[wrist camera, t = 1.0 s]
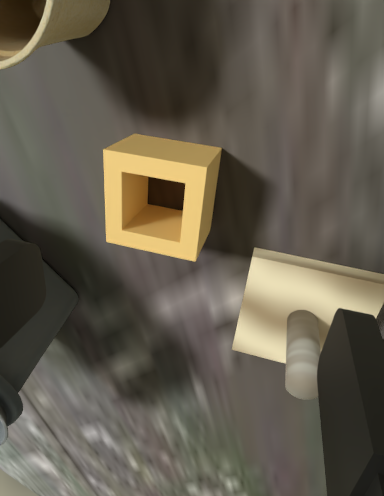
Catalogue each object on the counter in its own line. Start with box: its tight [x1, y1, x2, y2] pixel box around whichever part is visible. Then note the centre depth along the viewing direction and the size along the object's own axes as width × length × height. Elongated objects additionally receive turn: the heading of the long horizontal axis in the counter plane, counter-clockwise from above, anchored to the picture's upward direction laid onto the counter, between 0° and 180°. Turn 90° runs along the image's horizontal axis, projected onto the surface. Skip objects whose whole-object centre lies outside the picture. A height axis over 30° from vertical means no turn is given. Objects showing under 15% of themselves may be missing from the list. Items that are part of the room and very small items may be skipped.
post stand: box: [232, 247, 384, 400], centre depth 26 cm, size 10×10×8 cm
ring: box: [103, 134, 222, 262], centre depth 25 cm, size 7×7×5 cm
